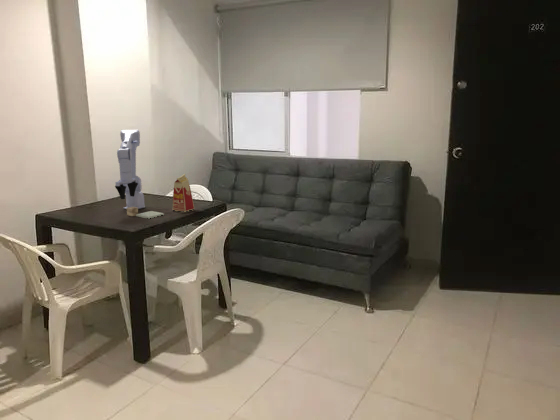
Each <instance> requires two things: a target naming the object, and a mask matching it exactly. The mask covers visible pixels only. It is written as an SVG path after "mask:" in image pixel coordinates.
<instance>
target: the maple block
mask: <svg viewBox="0 0 560 420" xmlns="http://www.w3.org/2000/svg"><path fill="white" fill-rule="evenodd" d="M136 214H139V209H138V208H137V207H129V208H127V209H126V216H129V217H136Z"/></svg>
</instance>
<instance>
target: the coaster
mask: <svg viewBox="0 0 560 420" xmlns="http://www.w3.org/2000/svg"><path fill="white" fill-rule="evenodd" d="M161 215H163V216H165V213H164V212H159V211H153V210H149V211H144V212H141V213H138V214H136V215H135V217H138V218H143V219H147V218H148V219H149V220H151V219H155V218H158V217H157V216H159V217H161ZM154 217H155V218H154ZM150 218H151V219H150Z"/></svg>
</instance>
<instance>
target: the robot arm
mask: <svg viewBox="0 0 560 420" xmlns="http://www.w3.org/2000/svg"><path fill="white" fill-rule="evenodd" d="M119 135H120V141H121V143H120V147H119V148H118V149H117V152H116V153H117V154H116V155H117V162H118V165H119V176H120V179H119V180H118V181H115V183H114V184H115V186H114V187H115V189H116V190H117V192H118V195H119V197H120V200H125V202H126V206H125V207H124V206H123V209H125V210H127V208H129V207H137V208H138V210H139V209H144V208H146V205H145V195H144V193H143V192H142V189H143V188H142V186H143V185H142V179H141V178H140V177H139V176H138V175H137V160H136V159H137V157H136V156H137V153H136V152H137V148H138V147H139V146H140V144H141V139H140V138H141V131H140V130H139V129H121V130H120V134H119Z"/></svg>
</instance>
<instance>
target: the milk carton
mask: <svg viewBox="0 0 560 420" xmlns="http://www.w3.org/2000/svg"><path fill="white" fill-rule="evenodd" d="M172 192H173V194H172V211H173V210H175V211H174V212H177V211H184V212H183V213H187V212H186V211H188V212H190V211H189V210H192V209H195V205H194V199H193V193H192V190H191V186H190V182H189V179H188V178H187V177H186V173H184V174H182V175H181V176H179V177H177V178H176V181H174V183H173V191H172ZM192 211H193V210H192Z"/></svg>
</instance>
